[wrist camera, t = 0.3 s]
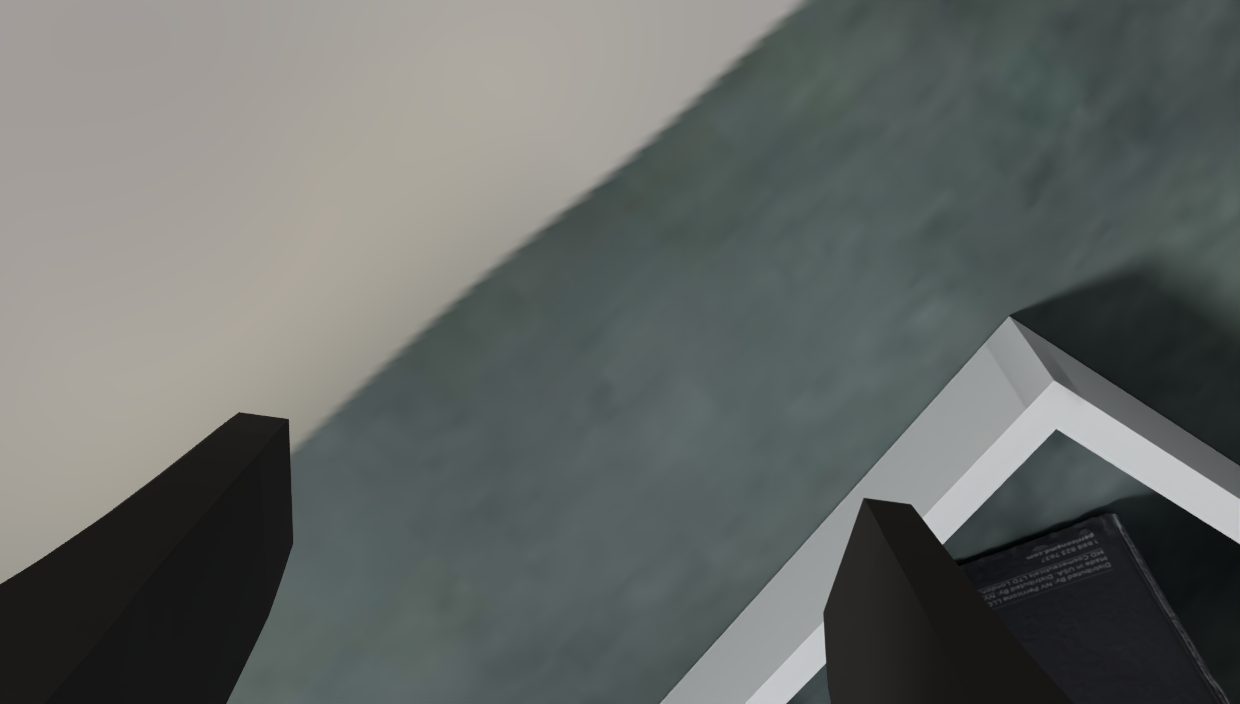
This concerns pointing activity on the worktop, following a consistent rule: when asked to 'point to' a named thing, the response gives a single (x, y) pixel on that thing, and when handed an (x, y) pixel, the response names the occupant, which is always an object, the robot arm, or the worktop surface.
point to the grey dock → (960, 495)
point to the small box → (1095, 617)
